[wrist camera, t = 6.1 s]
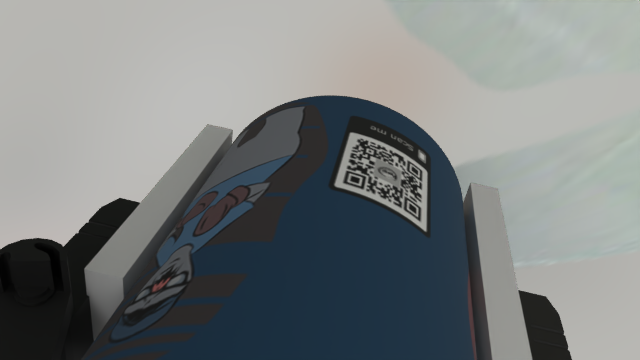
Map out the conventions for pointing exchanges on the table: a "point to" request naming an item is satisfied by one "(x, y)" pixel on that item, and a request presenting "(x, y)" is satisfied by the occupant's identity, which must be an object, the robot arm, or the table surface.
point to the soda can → (310, 249)
